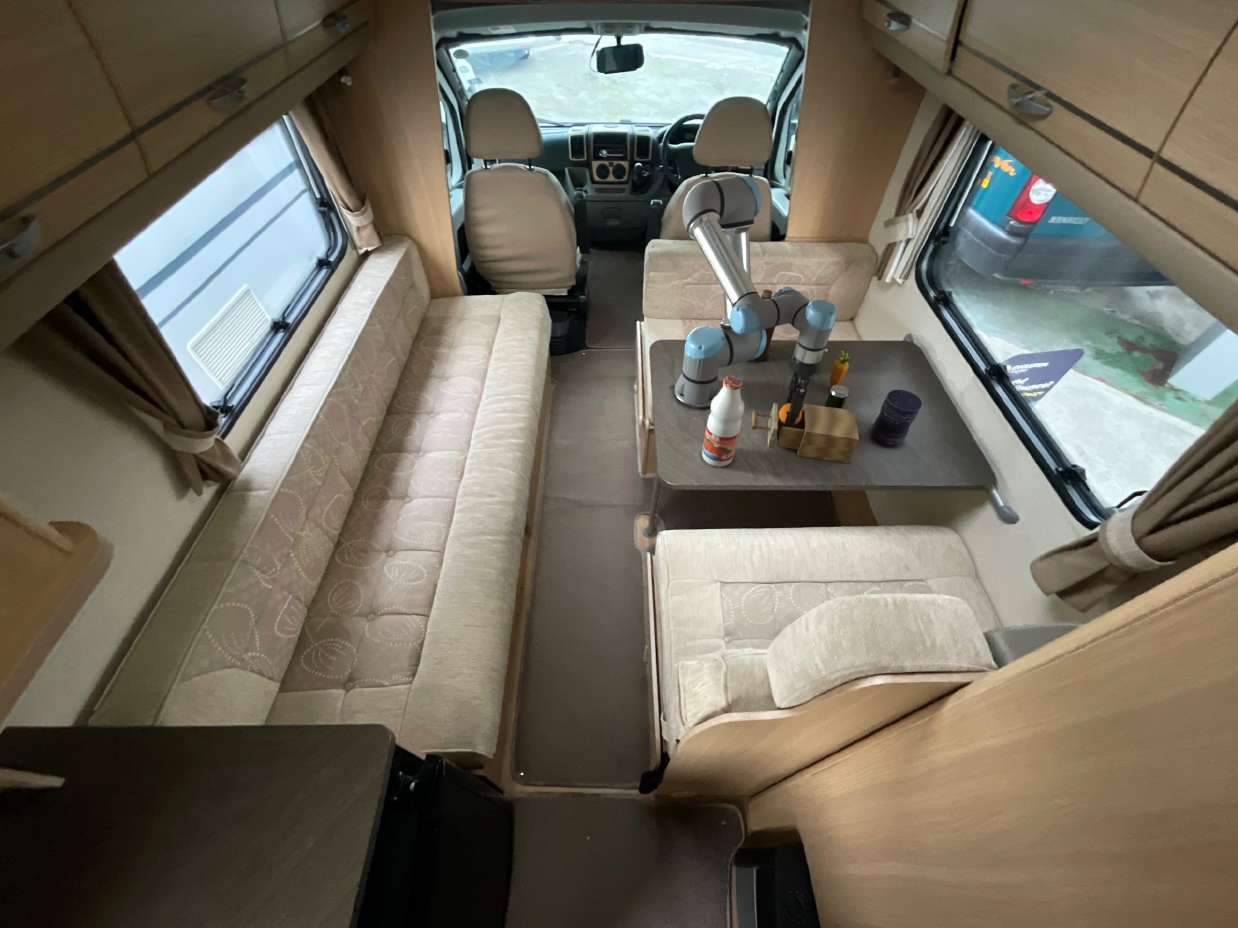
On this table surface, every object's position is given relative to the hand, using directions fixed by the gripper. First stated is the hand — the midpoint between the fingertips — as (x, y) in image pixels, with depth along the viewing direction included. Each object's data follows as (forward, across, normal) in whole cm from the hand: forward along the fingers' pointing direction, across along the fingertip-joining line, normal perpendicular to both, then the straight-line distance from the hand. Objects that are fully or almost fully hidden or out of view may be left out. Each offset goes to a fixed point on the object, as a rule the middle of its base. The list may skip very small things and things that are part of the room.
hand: (787, 421), depth 167 cm
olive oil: (+7, +44, +10) cm, 46 cm away
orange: (-3, 0, 0) cm, 3 cm away
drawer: (+6, 0, +1) cm, 6 cm away
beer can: (+7, +13, -15) cm, 21 cm away
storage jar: (+7, +8, -32) cm, 34 cm away
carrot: (+7, +29, -17) cm, 34 cm away
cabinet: (+7, 0, -12) cm, 14 cm away
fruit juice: (+7, -12, +19) cm, 24 cm away
